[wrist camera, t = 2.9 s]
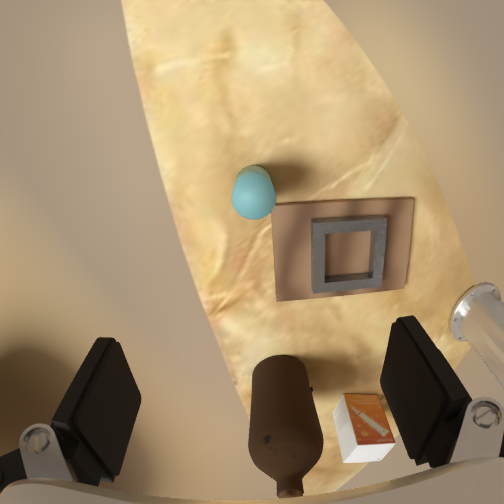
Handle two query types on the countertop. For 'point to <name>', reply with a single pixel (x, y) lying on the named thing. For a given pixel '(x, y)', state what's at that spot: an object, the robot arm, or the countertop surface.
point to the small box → (362, 428)
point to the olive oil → (284, 424)
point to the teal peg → (253, 193)
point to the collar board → (340, 247)
